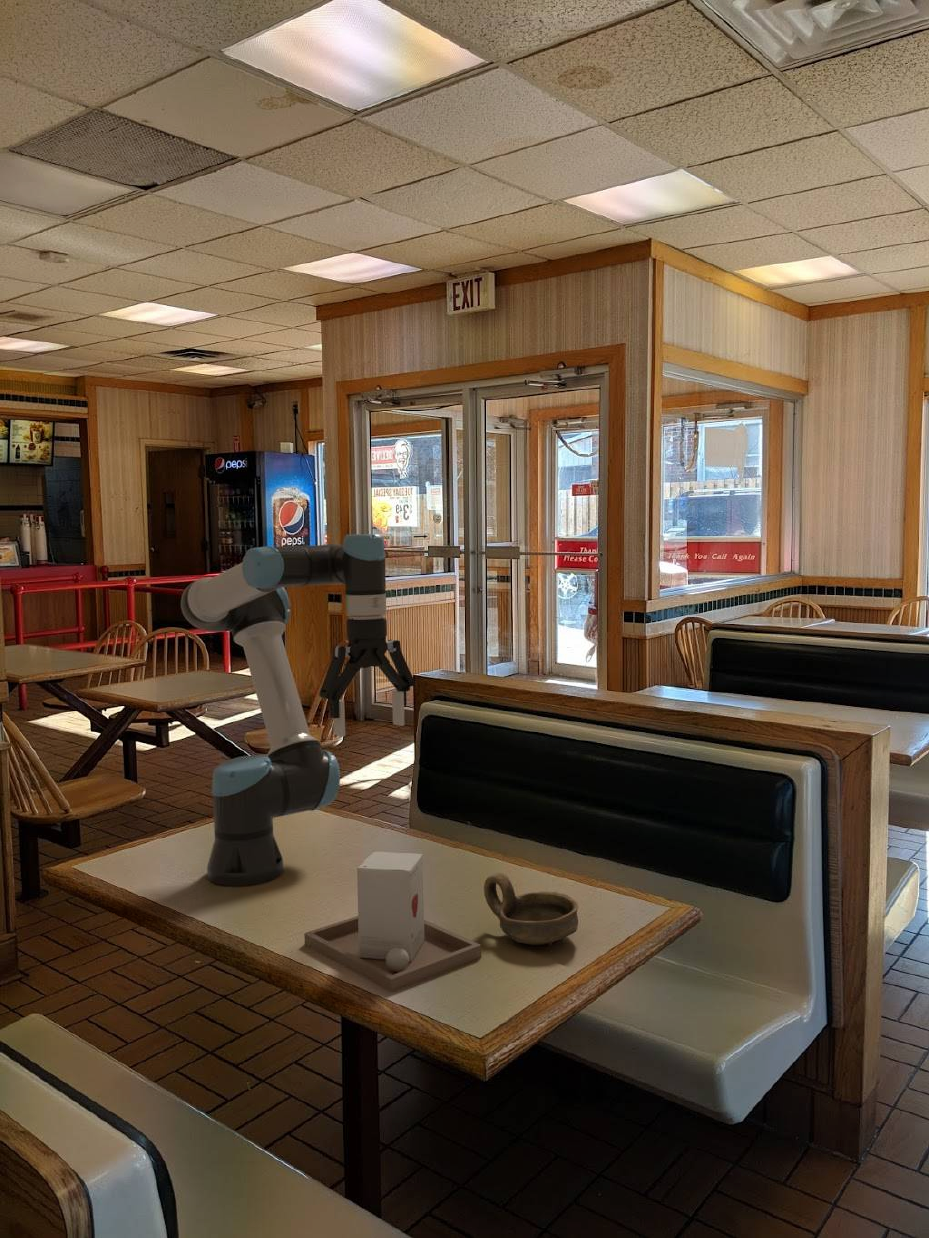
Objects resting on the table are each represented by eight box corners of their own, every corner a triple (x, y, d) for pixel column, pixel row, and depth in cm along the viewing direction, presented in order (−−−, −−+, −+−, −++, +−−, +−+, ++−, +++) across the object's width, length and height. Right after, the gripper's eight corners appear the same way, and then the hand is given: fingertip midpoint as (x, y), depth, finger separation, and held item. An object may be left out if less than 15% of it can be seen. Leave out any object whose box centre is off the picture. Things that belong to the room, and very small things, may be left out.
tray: (304, 947, 168) (304, 933, 168) (391, 918, 180) (391, 905, 180) (391, 995, 150) (391, 979, 150) (481, 959, 162) (481, 944, 162)
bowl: (553, 964, 160) (552, 903, 159) (464, 939, 170) (463, 882, 169) (596, 935, 171) (595, 878, 170) (510, 914, 181) (509, 859, 180)
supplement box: (412, 963, 160) (409, 870, 158) (357, 959, 162) (355, 867, 160) (426, 940, 169) (424, 852, 167) (374, 936, 170) (372, 850, 169)
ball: (381, 970, 157) (380, 948, 157) (400, 963, 160) (399, 941, 159) (395, 978, 154) (394, 955, 154) (414, 971, 157) (413, 948, 156)
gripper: (320, 623, 177) (324, 742, 178) (431, 613, 193) (433, 723, 195) (297, 621, 182) (301, 737, 184) (407, 611, 198) (410, 718, 200)
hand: (369, 730), depth 189 cm, fingers open, 13 cm apart
